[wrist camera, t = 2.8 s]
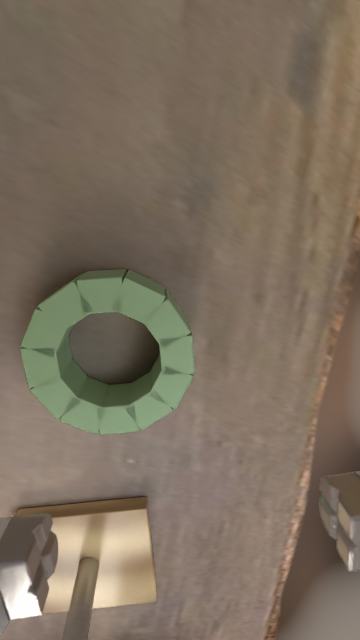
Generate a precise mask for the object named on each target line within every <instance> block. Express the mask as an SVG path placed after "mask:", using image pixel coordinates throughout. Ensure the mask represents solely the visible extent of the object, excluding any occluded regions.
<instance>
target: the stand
mask: <svg viewBox="0 0 360 640" xmlns="http://www.w3.org/2000/svg"><path fill="white" fill-rule="evenodd" d="M42 513H49V514H50V515H51V518H52V521H53V525H52V527H51V531H52V532H53V533H55V534H56V536H57V540H58V560H57V565H56V568H55V572H54V573H53V574H52V576H51V577H50V578H49V579H48V580H47V581H48V585H49V592H48V596H47V599H46V602H45V606H44V609H43V612H42V615H43V614H52V613H61V612H68V615H67V620H66V624H65V629H64V633H63V638H62V640H87V638H88V632H89V626H90V620H91V614H92V609H96V608H105V607H114V606H123V605H132V604H140V603H149V602H157V583H156V574H155V565H154V556H153V546H152V537H151V528H150V519H149V510H148V501H147V497H137V498H127V499H117V500H107V501H97V502H87V503H77V504H66V505H56V506H46V507H36V508H26V509H19V510H18V511H17V513H16V516H22V515H32V514H42Z"/></svg>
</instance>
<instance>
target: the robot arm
mask: <svg viewBox="0 0 360 640" xmlns="http://www.w3.org/2000/svg"><path fill="white" fill-rule="evenodd" d="M319 488H320V490H321V491H322V493H323V495H322V496H321V498H320V499H319V510H320V514H321V519H322V522H323V524H324V527H325V529H326V531H327V532H328V534H329V535H330V536H331V537H333V538H334V539H336V540H337V551H338V553H339V555H340V556H341V558H342V560H343V562H344V564H345V565H346V567H347V569H348V571H349V572H351V571H360V471H357V472H353V473H352V472H351V473H344V474H337V475H330V476H323V477H321V478H320V481H319ZM52 525H53V521H52V518H51V515H50V514H49V513H42V514H32V515H22V516H14V517H8V518H0V634H1V633H2V631H3V630H4V629H5V627H6V626H7V625H8V624H9V620H15V619H21V618H26V617H32V616H38V615H42V612H43V609H44V606H45V602H46V599H47V596H48V592H49V585H48V581H47V580H48V579H49V578H50V577H51V576H52V574H53V573H54V572H55V568H56V565H57V560H58V540H57V536H56V534H55V533H53V532H52V531H51V527H52Z"/></svg>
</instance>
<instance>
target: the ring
mask: <svg viewBox="0 0 360 640" xmlns="http://www.w3.org/2000/svg"><path fill="white" fill-rule="evenodd" d="M107 312H119V313H121V314H124V315H126V316H128V317H130V318H132V319H135V320H137V321H139V322H141V323H144V324H145V326H146V327H147V329H148V330H149V331H150V333H151V334H152V335H153V337H154V338H155V339H156V341H157V342H158V343H159V347H160V354H159V356H158V358H157V360H156V362H155V364H154V365H153V367H152V369H151V371H150V372H148V373H147V374H145V375H144V376H142V377H141V378H139V379H137V380H136V381H134V382H133V383H126V384H114V385H108V384H105V383H103V382H100V381H98V380H95V379H93V378H90V377H88V376H87V375H86V374H85V373H84V372H83V371H82V369H81V368H80V367H79V366H78V365H77V363H76V362H75V361H74V360H73V359H72V354H71V348H70V342H69V334H70V332H71V329H72V327H73V325H74V324H75V323H77V322H78V321H80V320H81V319H83V318H84V317H85V316H87V315H88V314H93V313H107ZM21 346H22V348H21V349H20V351H21V356H22V360H23V365H24V370H25V375H26V379H27V384H28V387H32V388H31V389H30V391H31V392H32V393H33V394H34V395H35V397H36V398H37V399H38V400H39V401H40V402H41V403H42V404H43V405H44V406H45V407H46V408H47V410H48V411H49V412H50V413H51V414H52V415H53V416H54V417H55V418H56V419H58V418H59V417H61V418H60V421H61V422H64V423H66V424H69V425H72V426H74V427H77V428H80V429H83V430H85V431H88V432H91V433H93V434H97V433H98V431H99V434H100V435H106V434H117V433H128V432H138V431H139V428H140V429H141V430H143V429H145V428H146V427H148V426H150V425H151V424H153V423H155V422H156V421H158V420H159V419H161V418H163V417H164V416H166V415H168V414H169V413H171V412H172V411H173V408H175V409H176V408H177V406H178V404H179V402H180V400H181V399H182V397H183V395H184V393H185V391H186V389H187V388H188V386H189V384H190V382H191V380H192V379H193V377H194V376H193V374H194V373H195V372H194V352H193V335H192V332H191V329H190V325H189V322H188V320H187V317H186V315H185V314H184V313H183V311H182V310H181V308H180V307H179V305H178V304H177V302H176V301H175V300H174V298H173V297H172V295H171V294H170V292H169V291H168V289H164V286H163V285H161V284H159V283H157V282H155V281H153V280H151V279H149V278H147V277H144V276H142V275H140V274H138V273H136V272H134V271H132V270H130V269H129V270H128V272H126V269H114V270H100V271H87V272H86V273H82V274H80V275H79V276H78V277H76V278H75V279H73V280H72V281H70V282H69V283H67V284H66V285H65V286H63V287H62V288H60V289H59V290H57V291H56V292H54V293H53V294H52V295H50V296H49V297H48V298H47V299H45V300H44V301H43V302H41V303H40V304H39V305H38V307H37V308H35V310H34V313H33V315H32V318H31V320H30V323H29V325H28V328H27V330H26V333H25V335H24V338H23V340H22V343H21Z"/></svg>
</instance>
